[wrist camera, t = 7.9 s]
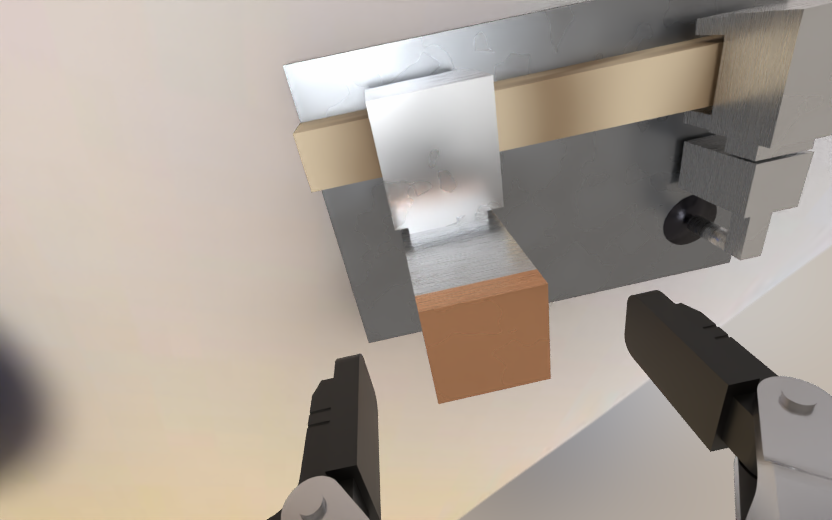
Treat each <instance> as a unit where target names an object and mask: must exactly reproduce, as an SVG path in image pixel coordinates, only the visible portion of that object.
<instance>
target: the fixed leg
mask: <svg viewBox="0 0 832 520" xmlns="http://www.w3.org/2000/svg"><path fill="white" fill-rule="evenodd" d="M695 35H725V37H724V43H723V49H722V55H721V61H720V67H719V73H718V79H717V85H716V91H715V97H714V103H713V106H709V107H704V108H700V109H695V110H690V111H686V112H685V113H684V121H683V123H685V124H689V125H693V126H697V127H700V128H704V129H708V130H709V132H710V133H714V134H716V135H712V136H707V137H703V138H698V139H693V140H689V141H684V147H683V154H682V162H681V169H680V176H679V183H678V188H680V189H682V190H684V191H687V192H689V193H691V194H693V195H695V196H697V197H699V198H702V199H704V200H706V201H708V202H710V203H712V204H714V205H716V206H719V207H721V208H723V209H725V210H727V211H729V212H731V213H732V214H731V219H730V223H729V228H728V230H727V229H725V228H723V227H721V226H719V225H717V224H715V223H713V222H711V221H709V220H707V219H705V218H704V217H702V216H699V215H696V216H694V217H692V218H691V219H690V220H689V221H688V223H687V228H688V230H690V231H692V232H693V233H695V234H697V235H699V236H700V237H702V238H704V239H705V240H707V241H709V242H711V243H712V244H714V245H716V246H718V247H719V248H721V249H723V250H724V251H725V252H727V253H729V254H730V255H732V256H734V257H736V258H737V259H739V260H743V259H748V258H752V257H757V256H761V253H762V249H763V245H764V241H765V238H766V234H767V230H768V226H769V223H770V219H771V215H772V212H775V211H780V210H784V209H789V208H793V207H798V203H799V200H800V197H801V193H802V190H803V187H804V183H805V180H806V176H807V173H808V170H809V166H810V163H811V160H812V156H813V153H814V152H812V151H808V150H809V149H812V148H813V144H814V141H815V139H816V138H821V137H825V136H830V135H832V0H783V1H778V2H774V3H769V4H764V5H760V6H755V7H750V8H745V9H741V10H736V11H731V12H727V13H722V14H717V15H712V16H708V17H703V18H698V19H697V24H696V32H695Z"/></svg>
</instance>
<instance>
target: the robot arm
mask: <svg viewBox="0 0 832 520" xmlns="http://www.w3.org/2000/svg"><path fill="white" fill-rule="evenodd" d="M625 342H626V346H627V348H628V351H629V353H630V354H631V356H632V357H633V358H634V360H635V361H636V362H637V363H638V364H639V366H640V367H641V368H642V369H643V370H644V372H645V373H646V374H647V375H648V377H649V378H650V379H651V380H652V381H653V383H654V384H655V385H656V386H657V387H658V389H659V390H660V391H661V392H662V393H663V395H664V396H665V397H666V398H667V400H668V401H669V402H670V403H671V404H672V406H673V407H674V408H675V409H676V410H677V412H678V413H679V414H680V415H681V416H682V418H683V419H684V420H685V421H686V422H687V424H688V425H689V426H690V427H691V429H692V430H693V431H694V432H695V433H696V435H697V436H698V437H699V438H700V439H701V441H702V442H703V443H704V444H705V445H706V447H707V448H708V449H709V450H710V452H711V451H715V450H720V449H724V448H730V449H731V451H732V452H733V453H734V454H735V455H736V456H735V459H734V487H735V512H736V513H735V514H736V520H832V396H831V395H830V394H828V393H827V392H826V391H824V390H823V389H821V388H819V387H817V386H816V385H813V384H811V383H809V382H806V381H803V380H800V379H796V378H792V377H784V376H778V375H776V374H775V373H774V372H773V371H771V370H770V369H769V368H767V366H765V365H764V364H763V363H762V362H761V361H759V360H758V359H757V358H756V357H755V356H753V355H752V354H751V353H750V352H749V351H747V350H746V349H745V348H744V347H743V346H741V345H740V344H739V343H738V342H736V341H735V340H734V339H733V338H732V337H728V334H727V333H726V332H724V331H723V330H722V329H721V328H720V327H716V324H715V323H714V322H712V321H711V320H710V319H709V318H707V317H706V316H705V315H704V314H703V313H701V312H700V311H697V310H695V309H693V308H691V307H689V306H687V305H684V304H682V303H679V304H675V303H673V302H672V301H671V300H670V299H669V298H668V297H667V296H665V295H664V294H663V293H662V292H660V291H658V290H654V291H650V292H645V293H640V294H636V295H631V296H630V297H629V298H628V301H627V312H626V324H625ZM267 520H381V506H380V472H379V438H378V409H377V401H376V395H375V391H374V388H373V385H372V382H371V379H370V376H369V373H368V370H367V367H366V364H365V361H364V358H363V356H362V354H357V355H353V356H348V357H343V358H339V359H336V361H335V370H334V378H331V379H327V380H322V381H321V382H320V384H319V385H318V387H317V389H316V390H315V392H314V394H313V396H312V401H311V407H310V415H309V421H308V428H307V434H306V440H305V447H304V454H303V460H302V467H301V474H300V479H299V484H298V486H297V487H296V488H295V489H294V490H293V491H292V492H291V493H290V495H289V496H288V498H287V499H286V501H285V503H284V505H283V508H282V509H281V510H280V511H279V512H278V513H276V514H275V515H274V516H272V517H270V518H269V519H267Z"/></svg>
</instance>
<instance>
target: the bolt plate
mask: <svg viewBox="0 0 832 520" xmlns="http://www.w3.org/2000/svg"><path fill="white" fill-rule="evenodd" d="M778 1H783V0H591V1H586V2H581V3H576V4H572V5H567V6H562V7H557V8H553V9H548V10H543V11H538V12H534V13H529V14H524V15H519V16H515V17H510V18H505V19H500V20H496V21H491V22H486V23H481V24H477V25H472V26H467V27H462V28H458V29H453V30H448V31H443V32H439V33H434V34H429V35H424V36H420V37H415V38H410V39H405V40H401V41H396V42H391V43H386V44H382V45H377V46H372V47H367V48H363V49H358V50H353V51H348V52H343V53H339V54H334V55H329V56H324V57H320V58H315V59H310V60H305V61H301V62H296V63H291V64H287V65H284V66H283V68H284V71H285V74H286V77H287V81H288V84H289V87H290V90H291V93H292V97H293V100H294V103H295V106H296V110H297V113H298V116H299V119H300V122H301V123H303V122H308V121H312V120H317V119H322V118H326V117H331V116H336V115H340V114H345V113H350V112H354V111H359V110H364V109H367V107H366V103H365V92H364V91H365V89H369V88H373V87H378V86H383V85H387V84H392V83H397V82H402V81H406V80H411V79H416V78H420V77H425V76H430V75H435V74H439V73H444V72H449V71H453V70H458V69H463V70H466V69H473V70H477V71H480V72H484V73H488V74H491V75H493V80H494V82H495V81H500V80H505V79H509V78H514V77H519V76H523V75H528V74H533V73H537V72H542V71H547V70H552V69H556V68H561V67H566V66H570V65H575V64H580V63H584V62H589V61H594V60H598V59H603V58H608V57H613V56H617V55H622V54H627V53H631V52H636V51H641V50H645V49H650V48H655V47H659V46H664V45H669V44H674V43H678V42H683V41H688V40H692V39H697V38H702V37H706V36H711V35H695V32H696V24H697V19H698V18H703V17H708V16H712V15H717V14H722V13H727V12H731V11H736V10H741V9H745V8H750V7H755V6H760V5H764V4H769V3H774V2H778ZM684 113H685V112H681V113H676V114H672V115H667V116H663V117H658V118H653V119H649V120H644V121H639V122H635V123H630V124H626V125H621V126H616V127H612V128H607V129H602V130H598V131H593V132H589V133H584V134H579V135H575V136H570V137H565V138H561V139H556V140H552V141H547V142H542V143H538V144H533V145H528V146H524V147H519V148H515V149H510V150H505V151H501V152H499V153H500V165H501V177H502V189H503V202H504V207H501V208H496V209H492V211H493V213H494V214H495V215H496V217H497V218H498V219H499V220H500V222H501V223H502V224H503V226H504V227H505V228H506V230H507V231H508V232H509V233H510V235H511V236H512V237H513V239H514V240H515V241H516V243H517V244H518V245H519V246H520V248H521V249H522V250H523V252H524V253H525V254H526V256H527V257H528V258H529V260H530V261H531V262H532V263H533V265H534V266H535V267H536V269H537V270H538V271H539V273H540V274H541V275H542V276H543V278H544V279H545V280H546V282H547V283H548V301H549V303H550V302H554V301H559V300H563V299H568V298H572V297H577V296H581V295H586V294H590V293H595V292H599V291H604V290H608V289H613V288H617V287H622V286H626V285H631V284H635V283H640V282H644V281H648V280H653V279H657V278H662V277H666V276H671V275H675V274H680V273H684V272H689V271H693V270H698V269H702V268H707V267H711V266H716V265H720V264H725V263H729V262H730V259H731V255H730V254H729V253H727V252H725V251H724V250H723V249H721V248H719V247H718V246H716V245H714V244H712V243H711V242H709V241H707V240H705V239H704V238H702V237H700V236H699V235H697V234H695V233H693V232H692V231H690V230H688V228H687V223H688V221H689V220H690V219H691V218H692V217H694V216H696V215H699V216H702V217H704V218H705V219H707V220H709V221H711V222H713V223H715V224H717V225H719V226H721V227H723V228H725V229H727V230H728V228H729V223H730V219H731V214H732V213H731V212H729V211H727V210H725V209H723V208H721V207H719V206H716V205H714V204H712V203H710V202H708V201H706V200H704V199H702V198H699V197H697V196H695V195H693V194H691V193H689V192H687V191H684V190H682V189H680V188H678V183H679V176H680V169H681V162H682V154H683V147H684V141H689V140H693V139H698V138H703V137H707V136H712V135H716V134H714V133H710V132H709V130H708V129H704V128H700V127H697V126H693V125H689V124H685V123H683V121H684ZM322 193H323V196H324V200H325V203H326V206H327V209H328V212H329V216H330V219H331V222H332V225H333V229H334V232H335V235H336V238H337V241H338V245H339V248H340V251H341V254H342V258H343V261H344V264H345V267H346V270H347V274H348V277H349V280H350V283H351V286H352V290H353V293H354V296H355V299H356V303H357V306H358V309H359V312H360V315H361V319H362V322H363V325H364V328H365V331H366V335H367V338H368V341H369V343H371V342H375V341H380V340H384V339H389V338H393V337H398V336H402V335H407V334H411V333H416V332H420V331H422V327H421V323H420V318H419V314H418V309H417V304H416V300H415V295H414V290H413V286H412V281H411V276H410V271H409V267H408V262H407V257H406V253H405V248H404V243H403V239H402V234H401V229H400V230H396V231H395V229H394V224H393V220H392V216H391V211H390V207H389V203H388V198H387V194H386V190H385V185H384V181H383V177H380V178H376V179H371V180H367V181H362V182H357V183H353V184H348V185H343V186H339V187H334V188H330V189H325V190H322Z"/></svg>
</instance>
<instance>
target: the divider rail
mask: <svg viewBox="0 0 832 520" xmlns="http://www.w3.org/2000/svg"><path fill="white" fill-rule="evenodd" d="M724 37H725V35H711V36H706V37H702V38H697V39H692V40H688V41H683V42H678V43H674V44H669V45H664V46H659V47H655V48H650V49H645V50H641V51H636V52H631V53H627V54H622V55H617V56H613V57H608V58H603V59H598V60H594V61H589V62H584V63H580V64H575V65H570V66H566V67H561V68H556V69H552V70H547V71H542V72H537V73H533V74H528V75H523V76H519V77H514V78H509V79H505V80H500V81H495V82H494V92H495V104H496V116H497V128H498V141H499V152H501V151H505V150H510V149H515V148H519V147H524V146H528V145H533V144H538V143H542V142H547V141H552V140H556V139H561V138H565V137H570V136H575V135H579V134H584V133H589V132H593V131H598V130H602V129H607V128H612V127H616V126H621V125H626V124H630V123H635V122H639V121H644V120H649V119H653V118H658V117H663V116H667V115H672V114H676V113H681V112H686V111H690V110H695V109H700V108H704V107H709V106H713V103H714V97H715V91H716V85H717V79H718V73H719V67H720V61H721V55H722V49H723V43H724ZM293 136H294V139H295V142H296V145H297V149H298V152H299V155H300V158H301V161H302V164H303V167H304V170H305V173H306V176H307V179H308V183H309V186H310V189H311V192H316V191H320V190H325V189H330V188H334V187H339V186H343V185H348V184H353V183H357V182H362V181H367V180H371V179H376V178H380V177H383V176H382V172H381V168H380V163H379V159H378V155H377V150H376V146H375V142H374V137H373V133H372V129H371V124H370V120H369V116H368V111H367V109H364V110H359V111H354V112H350V113H345V114H340V115H336V116H331V117H326V118H322V119H317V120H312V121H308V122H303V123H300V125H299V126H298V127H297V129H296V130H295V132H294V133H293Z"/></svg>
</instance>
